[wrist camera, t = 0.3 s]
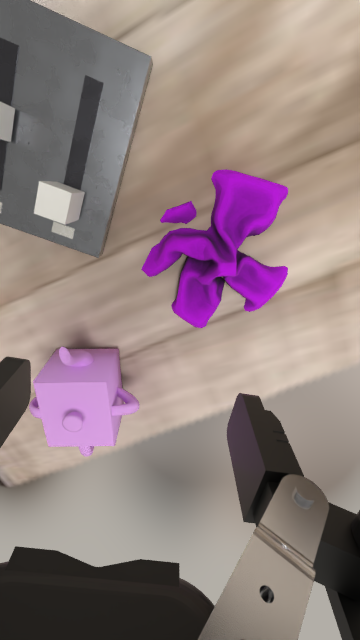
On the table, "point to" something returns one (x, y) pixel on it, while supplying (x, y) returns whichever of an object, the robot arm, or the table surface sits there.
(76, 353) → the teapot
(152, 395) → the table surface
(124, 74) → the panel
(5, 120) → the block
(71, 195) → the block
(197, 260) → the cloth
